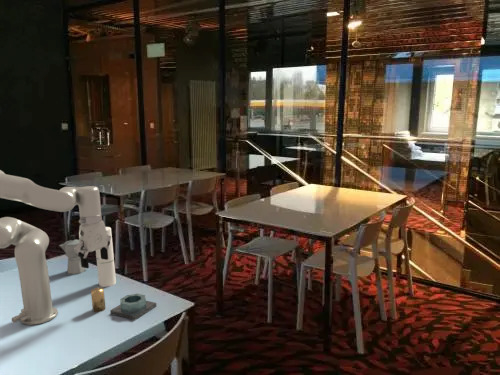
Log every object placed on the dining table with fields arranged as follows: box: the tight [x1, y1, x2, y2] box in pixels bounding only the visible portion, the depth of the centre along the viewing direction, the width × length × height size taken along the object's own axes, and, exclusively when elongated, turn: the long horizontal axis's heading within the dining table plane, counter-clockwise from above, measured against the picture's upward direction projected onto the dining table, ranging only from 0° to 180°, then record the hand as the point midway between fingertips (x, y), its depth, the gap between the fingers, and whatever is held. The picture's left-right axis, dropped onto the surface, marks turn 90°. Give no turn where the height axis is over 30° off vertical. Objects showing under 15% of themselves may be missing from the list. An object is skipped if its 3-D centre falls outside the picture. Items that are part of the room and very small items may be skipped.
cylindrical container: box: [95, 226, 117, 288], centre depth 187 cm, size 7×7×25 cm
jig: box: [110, 293, 157, 321], centre depth 163 cm, size 12×12×4 cm
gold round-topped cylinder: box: [90, 286, 106, 313], centre depth 164 cm, size 5×5×8 cm
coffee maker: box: [58, 234, 86, 276], centre depth 205 cm, size 15×9×18 cm, turn 114°
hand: (95, 263), depth 162 cm, fingers open, 9 cm apart
